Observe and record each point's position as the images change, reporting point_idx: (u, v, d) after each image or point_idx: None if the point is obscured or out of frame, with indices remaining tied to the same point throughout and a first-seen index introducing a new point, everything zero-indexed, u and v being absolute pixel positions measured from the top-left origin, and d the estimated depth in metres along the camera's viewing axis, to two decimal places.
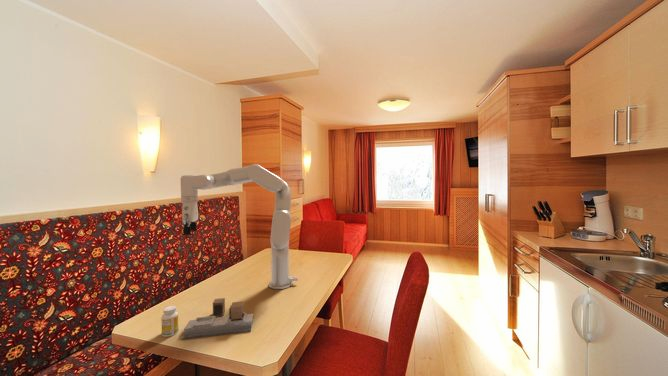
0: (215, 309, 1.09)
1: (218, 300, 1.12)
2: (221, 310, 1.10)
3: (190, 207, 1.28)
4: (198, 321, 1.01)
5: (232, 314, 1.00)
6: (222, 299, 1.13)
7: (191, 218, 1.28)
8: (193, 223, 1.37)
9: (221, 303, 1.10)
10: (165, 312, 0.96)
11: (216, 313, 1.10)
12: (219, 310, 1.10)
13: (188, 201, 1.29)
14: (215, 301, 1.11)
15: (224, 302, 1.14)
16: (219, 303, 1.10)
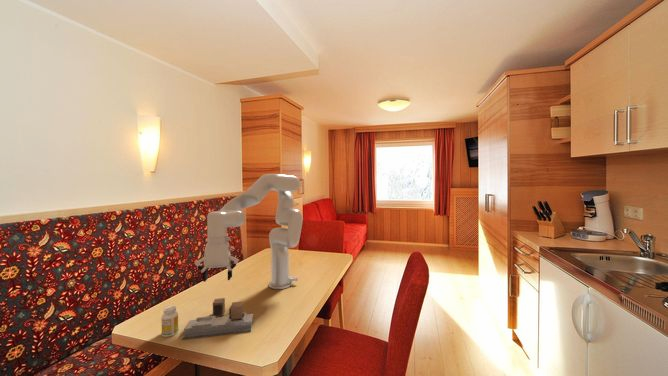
0: (215, 309, 1.09)
1: (218, 300, 1.12)
2: (221, 310, 1.10)
3: (229, 247, 1.14)
4: (198, 321, 1.01)
5: (232, 314, 1.00)
6: (222, 299, 1.13)
7: None
8: (206, 271, 1.11)
9: (221, 303, 1.10)
10: (165, 312, 0.96)
11: (216, 313, 1.10)
12: (219, 310, 1.10)
13: (226, 241, 1.13)
14: (215, 301, 1.11)
15: (224, 302, 1.14)
16: (219, 303, 1.10)
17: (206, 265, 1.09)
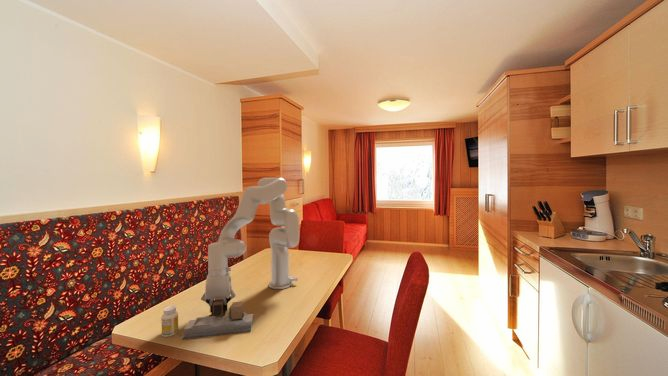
0: (215, 309, 1.09)
1: (218, 300, 1.12)
2: (221, 310, 1.10)
3: (230, 277, 1.14)
4: (198, 321, 1.01)
5: (232, 314, 1.00)
6: (222, 299, 1.13)
7: None
8: None
9: (221, 303, 1.10)
10: (165, 312, 0.96)
11: (216, 313, 1.09)
12: (219, 310, 1.10)
13: (227, 271, 1.13)
14: (215, 301, 1.11)
15: None
16: (219, 303, 1.10)
17: (207, 297, 1.09)
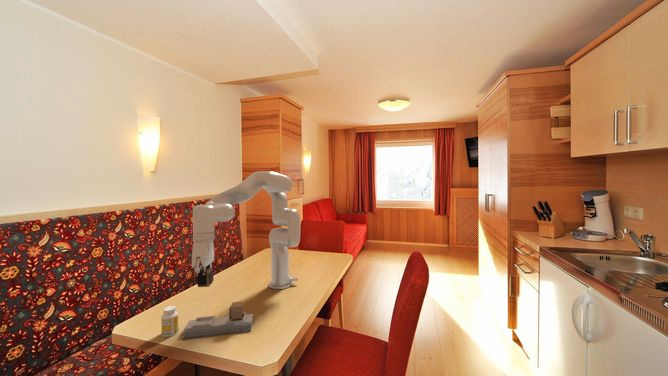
0: (211, 276, 1.01)
1: None
2: None
3: None
4: (198, 321, 1.01)
5: (232, 314, 1.00)
6: None
7: None
8: None
9: (211, 269, 1.03)
10: (165, 312, 0.96)
11: (211, 280, 1.02)
12: (212, 277, 1.03)
13: None
14: None
15: None
16: (210, 270, 1.03)
17: (205, 264, 0.98)
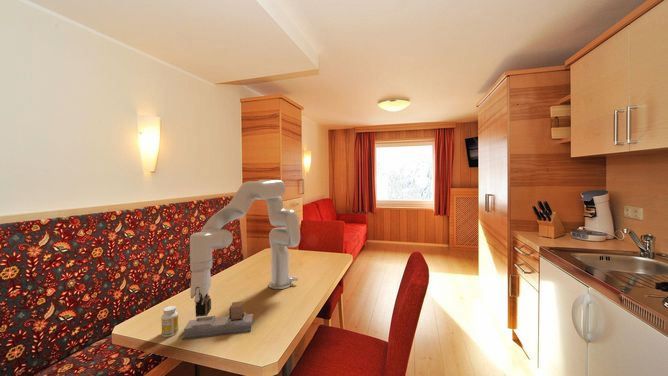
0: (209, 304, 1.00)
1: None
2: None
3: None
4: (198, 321, 1.01)
5: (232, 314, 1.00)
6: None
7: None
8: None
9: (209, 297, 1.02)
10: (165, 312, 0.96)
11: (209, 309, 1.00)
12: (210, 305, 1.01)
13: None
14: None
15: None
16: (208, 298, 1.01)
17: (204, 294, 0.96)
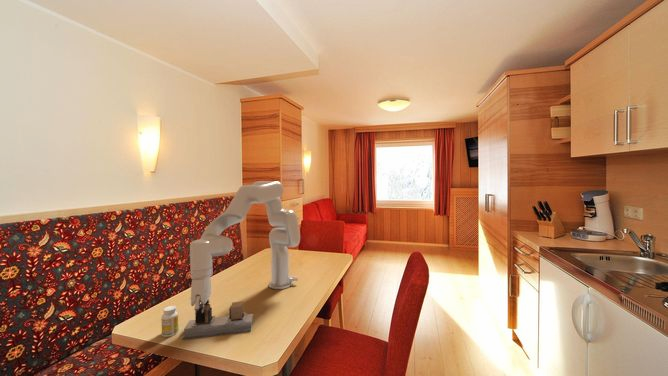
0: (210, 313, 1.00)
1: None
2: None
3: None
4: None
5: (232, 314, 1.00)
6: None
7: None
8: None
9: (209, 306, 1.02)
10: (165, 312, 0.96)
11: (210, 318, 1.00)
12: (211, 313, 1.02)
13: None
14: (204, 308, 0.99)
15: None
16: (209, 307, 1.01)
17: (205, 301, 0.97)
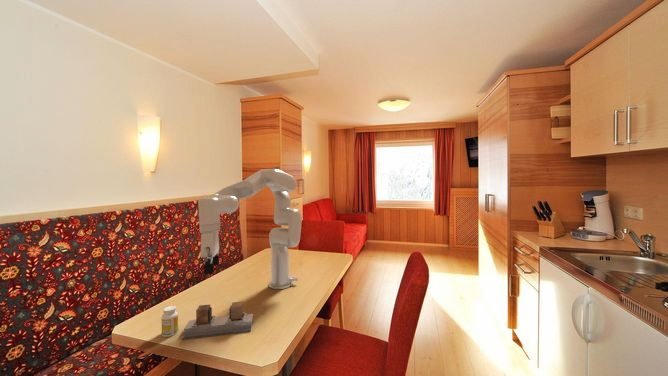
0: (210, 313, 1.00)
1: (203, 307, 1.00)
2: None
3: None
4: None
5: (232, 314, 1.00)
6: (202, 305, 1.01)
7: None
8: None
9: (209, 306, 1.02)
10: (165, 312, 0.96)
11: (210, 318, 1.00)
12: (211, 313, 1.02)
13: None
14: (204, 308, 0.99)
15: None
16: (209, 307, 1.01)
17: (214, 254, 1.02)
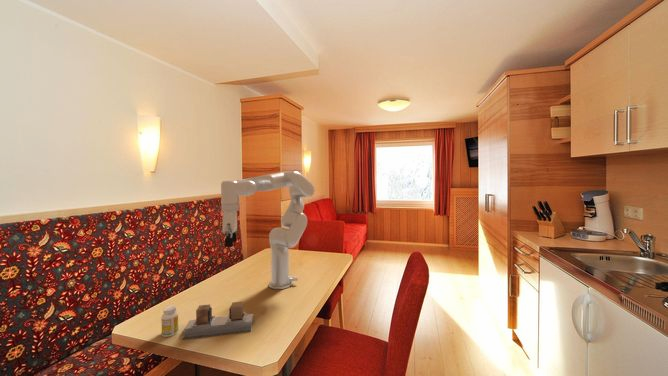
0: (210, 313, 1.00)
1: (203, 307, 1.00)
2: None
3: None
4: None
5: (232, 314, 1.00)
6: (202, 305, 1.01)
7: None
8: None
9: (209, 306, 1.02)
10: (165, 312, 0.96)
11: (210, 318, 1.00)
12: (211, 313, 1.02)
13: None
14: (204, 308, 0.99)
15: None
16: (209, 307, 1.01)
17: (234, 230, 1.16)
